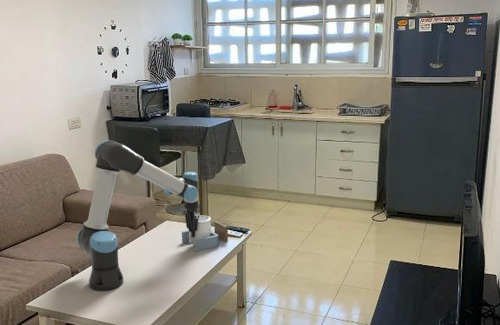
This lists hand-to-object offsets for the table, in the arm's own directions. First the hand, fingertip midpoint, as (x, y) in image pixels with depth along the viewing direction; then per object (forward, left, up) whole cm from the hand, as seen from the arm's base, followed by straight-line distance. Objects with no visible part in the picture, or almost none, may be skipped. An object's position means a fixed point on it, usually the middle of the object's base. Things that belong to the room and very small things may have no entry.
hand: (192, 241), depth 266 cm
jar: (+6, 0, -3) cm, 7 cm away
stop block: (+19, 0, -3) cm, 19 cm away
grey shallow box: (+4, 0, -3) cm, 5 cm away
